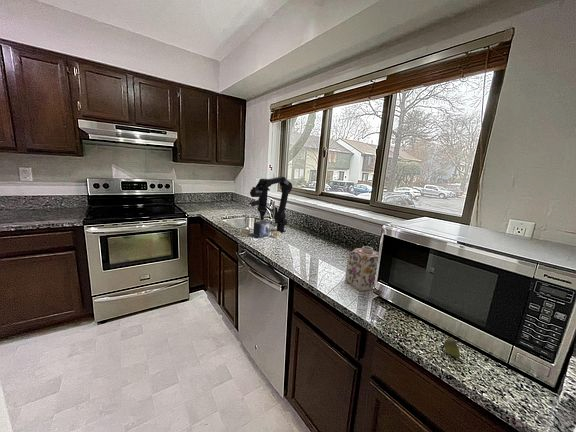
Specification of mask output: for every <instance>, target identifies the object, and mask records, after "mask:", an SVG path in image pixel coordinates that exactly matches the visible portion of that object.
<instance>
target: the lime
mask: <svg viewBox="0 0 576 432" xmlns="http://www.w3.org/2000/svg"><path fill="white" fill-rule="evenodd" d="M443 349H444V350H445V352H446V354H448V355H450V356H451V357H453V358H455V359H458V358H460V357H461V353H460V350H459V347H458V345H457V342H456V340H455V339H454V338H453V337H449V338H447V339H446V340H444V343H443Z"/></svg>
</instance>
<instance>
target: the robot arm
mask: <svg viewBox="0 0 576 432" xmlns="http://www.w3.org/2000/svg"><path fill="white" fill-rule="evenodd" d="M275 184H279V185H280V190H281V197H280V201H279V205H278V206H279V207H278V210H277V211H276V212H275V213H274V216H273V218H274V219H273V220H274V223H275V224H277V225H276V230H275V231H278V232H280V234H282V233H285V232H287V231H286V230H285V226H287V225H288V222H289V221H288V220H287V219H286V217H287V216H286V215H287V214H286V206H287V203H288V197H289V194H290V193H291V191H292V188H293V184H292V182H291V181H290V180H288V179H287V178H286V177H285V176H281V175H280V176H276V177H272V178H260V179H259V181H258V182H257V183H256V185H255V186H252V188H251V189H250V192H249V195H250V197H252V198H258V199H257V200H256V199H255V200H254V199H253V200H251V201H250V205H251V207H255V206H257V211H258V212H259V218H260V220H261V221H263V219H264V217H265V215H266V213H267V211H268V205H267V204H268V192H269V191H271V189H270V188H269V187H271V186H272V185H275Z"/></svg>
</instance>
